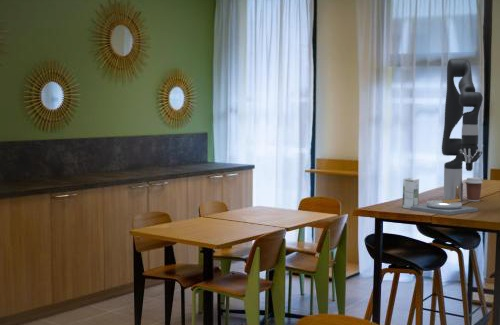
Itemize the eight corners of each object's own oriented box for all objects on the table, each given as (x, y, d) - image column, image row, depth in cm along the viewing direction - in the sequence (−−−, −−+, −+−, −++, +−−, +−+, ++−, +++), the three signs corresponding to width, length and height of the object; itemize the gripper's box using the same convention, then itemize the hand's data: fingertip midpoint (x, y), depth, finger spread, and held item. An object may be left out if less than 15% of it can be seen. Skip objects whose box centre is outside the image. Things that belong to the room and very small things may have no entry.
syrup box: (407, 206, 326) (408, 177, 325) (418, 208, 322) (419, 178, 321) (402, 208, 322) (402, 178, 321) (413, 209, 318) (414, 179, 317)
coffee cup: (483, 201, 348) (484, 179, 347) (465, 201, 350) (466, 178, 349) (481, 199, 357) (481, 177, 356) (463, 199, 359) (464, 177, 358)
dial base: (438, 206, 329) (438, 202, 329) (477, 211, 312) (477, 207, 312) (409, 209, 316) (409, 206, 316) (449, 215, 298) (449, 211, 298)
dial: (447, 209, 302) (448, 190, 302) (419, 206, 315) (419, 187, 315) (473, 206, 315) (474, 187, 314) (445, 203, 327) (445, 185, 327)
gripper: (486, 134, 310) (486, 171, 311) (462, 134, 321) (461, 169, 322) (477, 134, 306) (476, 171, 307) (453, 134, 316) (452, 170, 317)
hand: (469, 170), depth 314 cm, fingers closed
